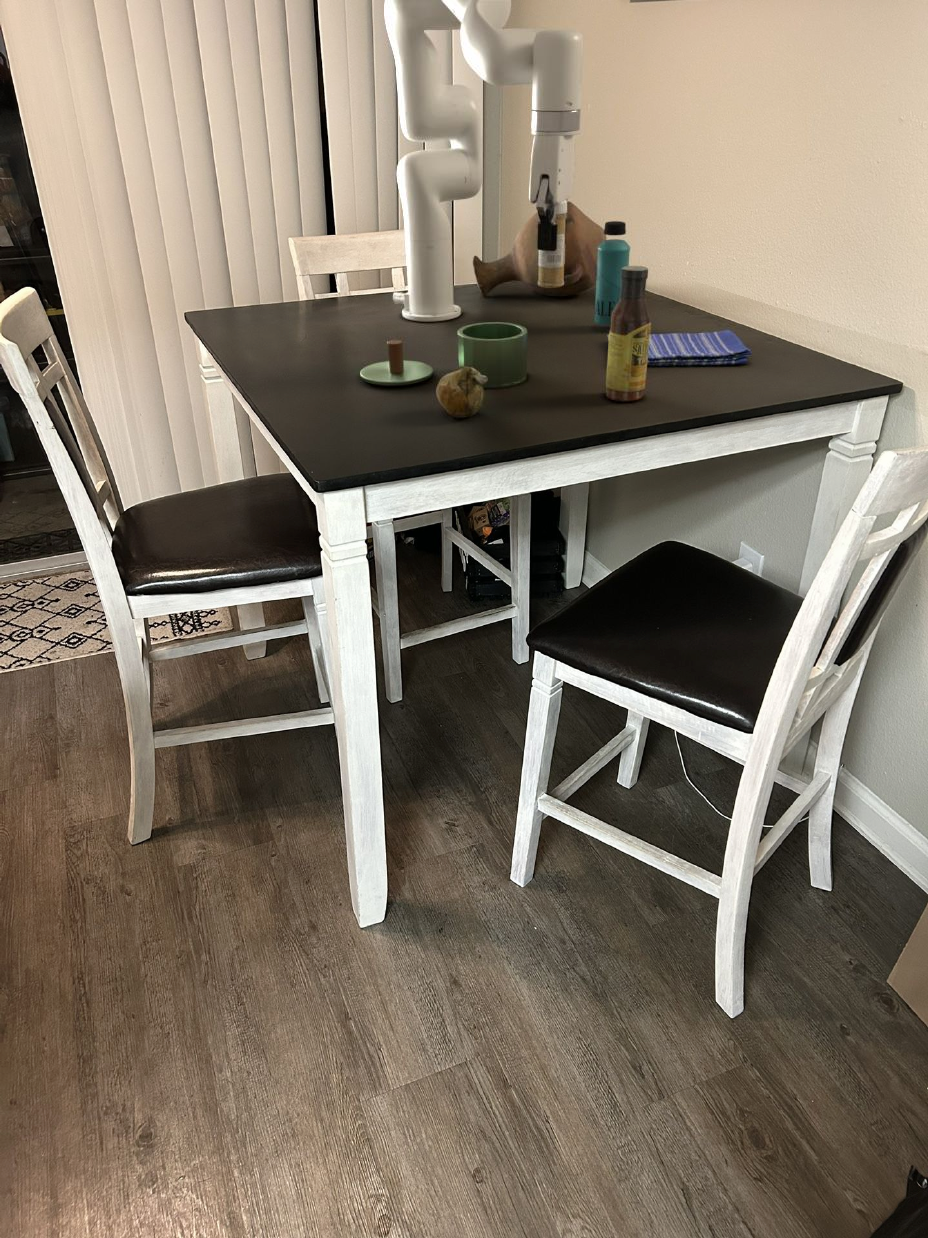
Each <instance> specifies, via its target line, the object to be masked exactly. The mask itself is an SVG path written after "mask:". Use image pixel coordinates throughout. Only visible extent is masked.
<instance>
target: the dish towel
mask: <svg viewBox="0 0 928 1238" xmlns="http://www.w3.org/2000/svg"><path fill="white" fill-rule="evenodd" d="M607 339H608V341H609V333H608V334H607ZM752 354H753V352H752V351H751V349H750V348H748V347H746V345H745V344H744V343H743V342H742V339H740V338H739V337H738V336H737V335H736V334H735V332H733V331H732V330H731V329H725V330H724V329H723V330H721V331H713V332H698V333H688V332H687V333H683V332H682V333H677V332H676V333H675V332H672V333H660V334H658V333H657V334H656V333H650V337H649V348H648V359H647V367H648V366H649V367H650V366H652V367H653V366H654V367H655V366H657V367H659V366H660V367H663V366H666V367H668V366H707V365H708V366H725V365H740V366H741V365H748V359H747V358H749V357H750V355H752Z"/></svg>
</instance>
